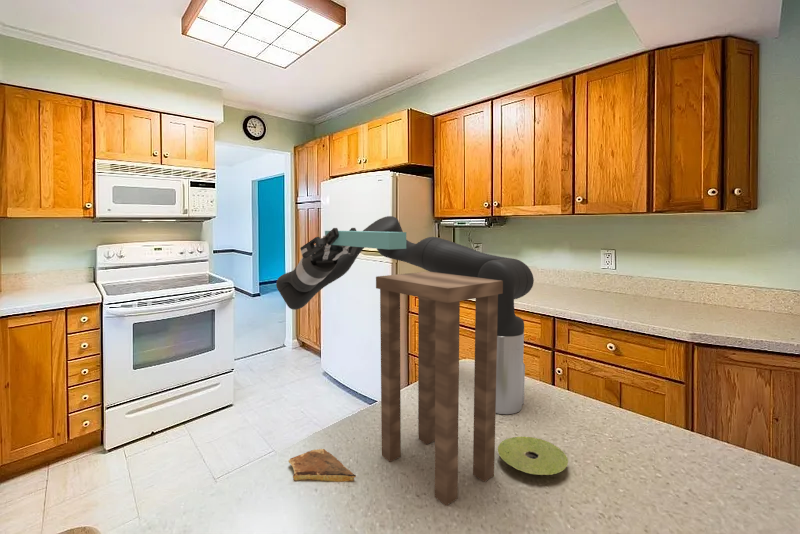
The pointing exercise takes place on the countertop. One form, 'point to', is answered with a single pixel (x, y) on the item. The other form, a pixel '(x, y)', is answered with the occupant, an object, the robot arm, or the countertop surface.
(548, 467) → the green flat disc
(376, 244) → the teal block
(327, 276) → the robot arm
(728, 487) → the countertop surface
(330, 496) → the countertop surface
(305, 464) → the brown flat wedge
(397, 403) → the walnut stand
